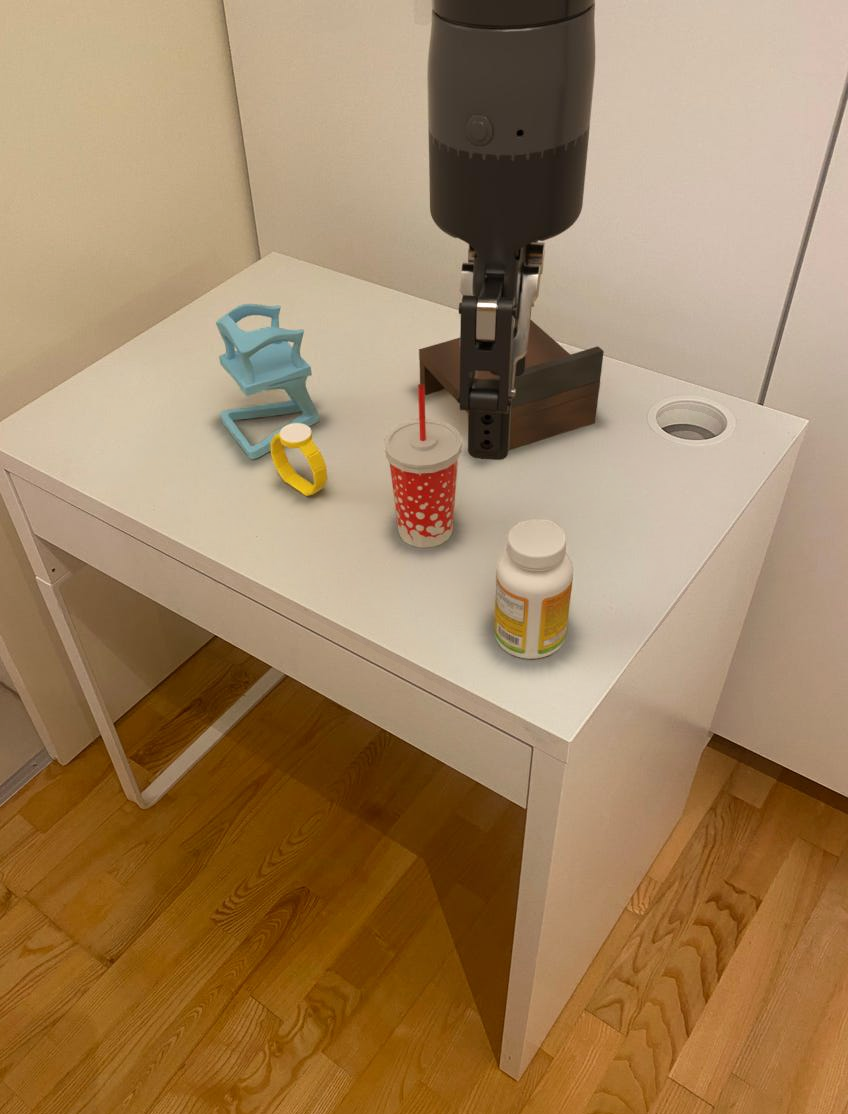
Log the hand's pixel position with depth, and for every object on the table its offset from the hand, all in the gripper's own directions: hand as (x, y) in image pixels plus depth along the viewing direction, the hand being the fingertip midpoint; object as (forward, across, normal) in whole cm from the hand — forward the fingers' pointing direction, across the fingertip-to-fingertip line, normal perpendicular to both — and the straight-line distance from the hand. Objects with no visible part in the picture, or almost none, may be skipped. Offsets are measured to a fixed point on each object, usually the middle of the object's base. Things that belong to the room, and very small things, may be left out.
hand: (498, 411), depth 58 cm
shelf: (+21, +33, +3) cm, 39 cm away
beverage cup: (+22, +14, +7) cm, 26 cm away
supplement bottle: (+22, +3, -3) cm, 22 cm away
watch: (+21, +18, +19) cm, 34 cm away
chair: (+21, +26, +24) cm, 42 cm away
